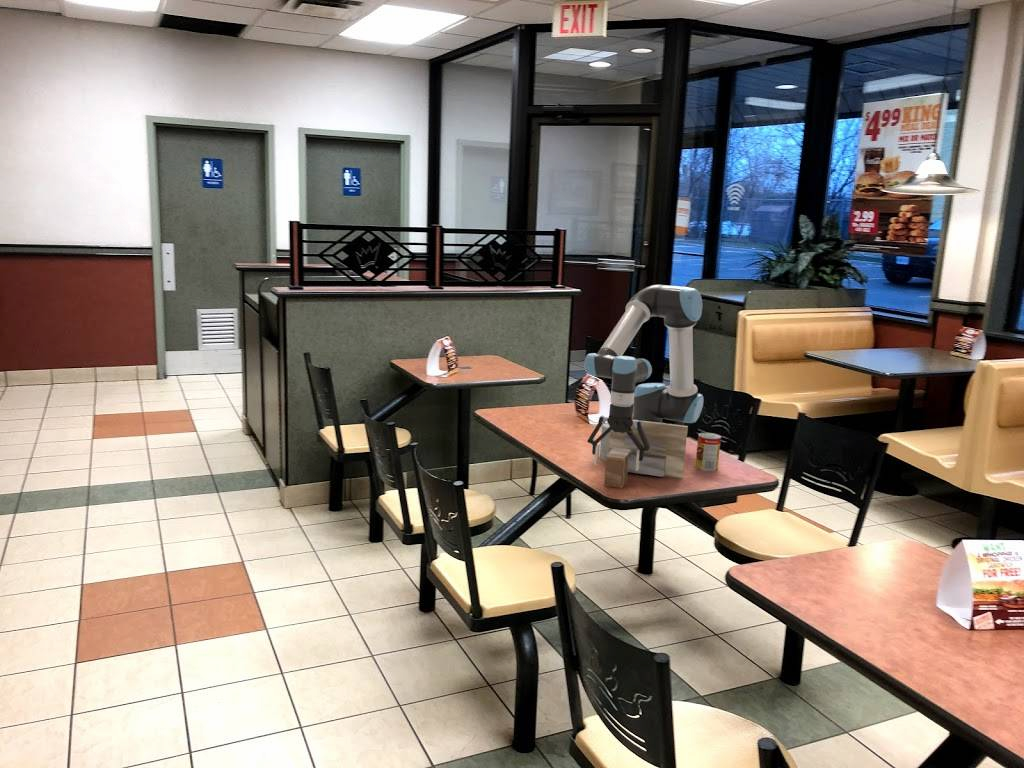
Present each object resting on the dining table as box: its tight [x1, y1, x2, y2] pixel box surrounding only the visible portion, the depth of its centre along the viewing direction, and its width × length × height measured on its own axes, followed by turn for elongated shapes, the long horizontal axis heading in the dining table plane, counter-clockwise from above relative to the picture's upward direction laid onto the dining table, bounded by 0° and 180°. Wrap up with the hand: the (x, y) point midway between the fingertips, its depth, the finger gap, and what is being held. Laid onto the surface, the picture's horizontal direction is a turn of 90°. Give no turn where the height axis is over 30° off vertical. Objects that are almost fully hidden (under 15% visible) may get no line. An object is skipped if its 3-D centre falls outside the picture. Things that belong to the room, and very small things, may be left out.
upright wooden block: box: [603, 448, 631, 489], centre depth 275 cm, size 13×6×10 cm, turn 162°
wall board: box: [609, 420, 689, 479], centre depth 284 cm, size 6×26×18 cm, turn 72°
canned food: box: [694, 432, 722, 472], centre depth 295 cm, size 8×8×12 cm
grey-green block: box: [599, 421, 610, 462], centre depth 302 cm, size 10×10×12 cm
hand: (616, 467), depth 273 cm, fingers open, 13 cm apart
